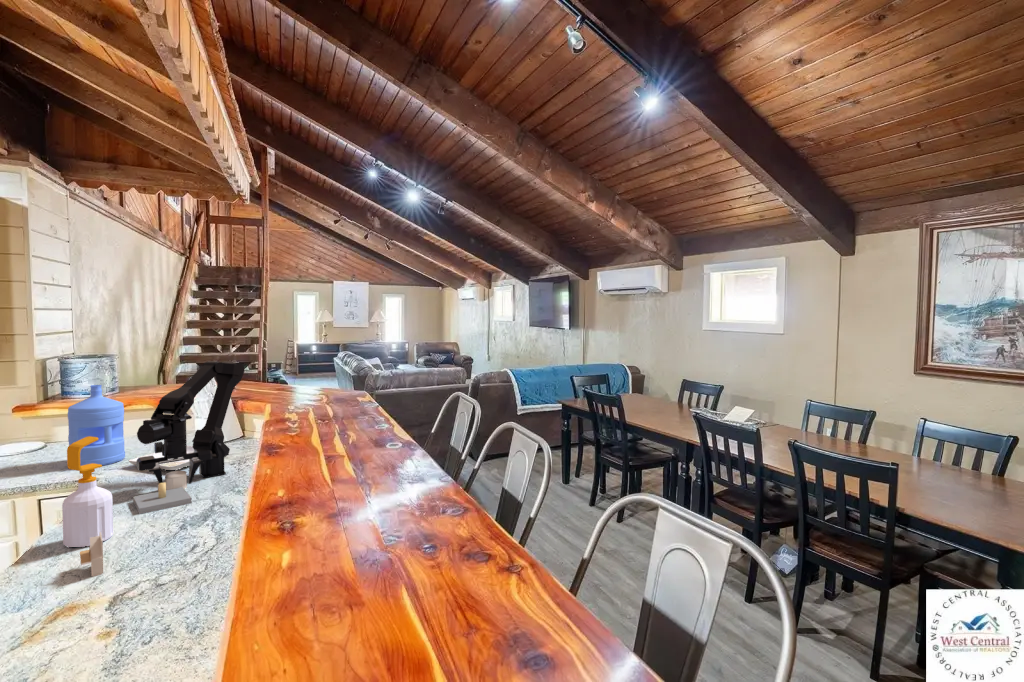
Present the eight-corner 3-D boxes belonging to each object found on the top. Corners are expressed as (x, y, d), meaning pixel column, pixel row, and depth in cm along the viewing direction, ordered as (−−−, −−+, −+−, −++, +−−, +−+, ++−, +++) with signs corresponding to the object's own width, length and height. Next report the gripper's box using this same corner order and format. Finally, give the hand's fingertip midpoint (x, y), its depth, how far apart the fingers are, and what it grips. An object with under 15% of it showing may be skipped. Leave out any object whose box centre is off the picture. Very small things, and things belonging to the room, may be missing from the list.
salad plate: (170, 475, 165) (170, 465, 165) (126, 468, 172) (126, 459, 172) (225, 459, 186) (225, 450, 185) (184, 453, 192) (183, 444, 192)
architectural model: (81, 581, 100) (80, 546, 99) (80, 568, 105) (79, 534, 104) (103, 576, 102) (102, 541, 102) (101, 563, 107) (100, 530, 107)
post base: (182, 491, 150) (182, 474, 149) (191, 502, 141) (191, 484, 141) (133, 501, 141) (132, 482, 141) (139, 514, 133) (139, 494, 132)
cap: (184, 485, 155) (184, 469, 155) (188, 489, 152) (188, 473, 151) (163, 489, 152) (163, 473, 152) (167, 493, 148) (166, 477, 148)
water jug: (58, 465, 174) (56, 386, 173) (109, 454, 189) (107, 381, 188) (85, 470, 168) (83, 389, 167) (134, 458, 183) (133, 384, 182)
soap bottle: (122, 535, 120) (120, 435, 119) (79, 551, 111) (76, 444, 110) (97, 529, 123) (95, 432, 122) (53, 545, 114) (50, 440, 113)
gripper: (203, 427, 163) (204, 473, 164) (133, 436, 150) (134, 486, 151) (212, 433, 155) (213, 481, 156) (138, 443, 142) (139, 496, 143)
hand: (176, 486), depth 152 cm, fingers open, 7 cm apart
